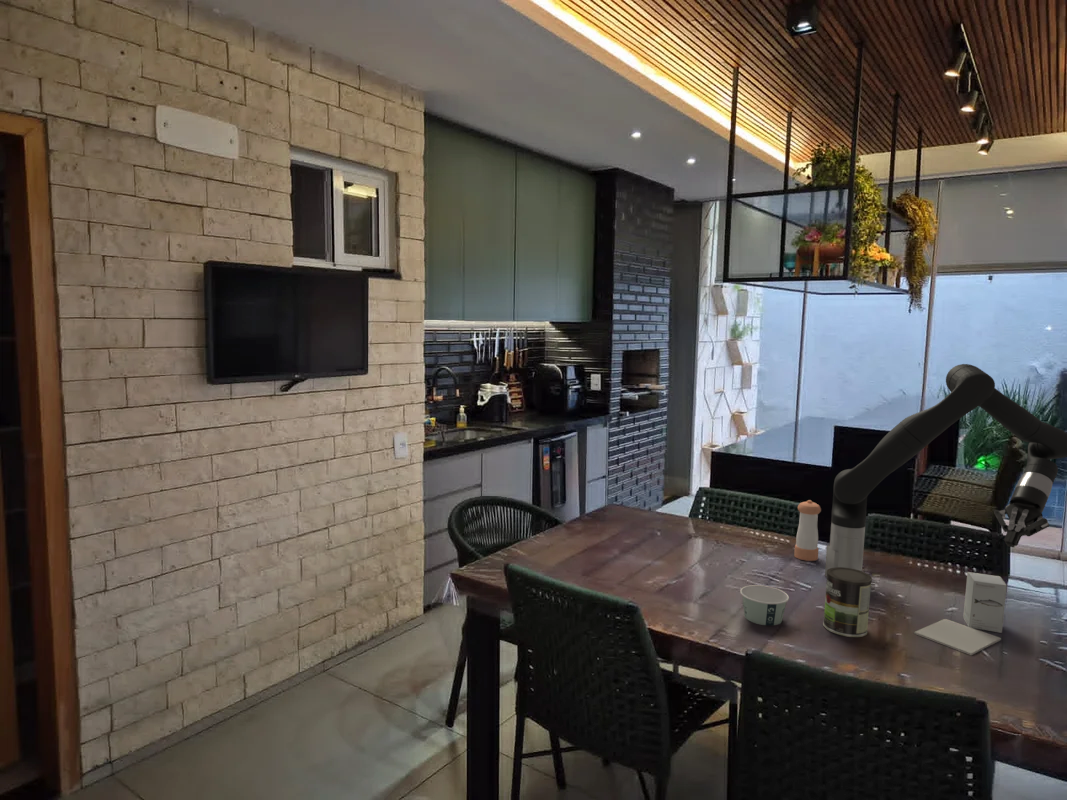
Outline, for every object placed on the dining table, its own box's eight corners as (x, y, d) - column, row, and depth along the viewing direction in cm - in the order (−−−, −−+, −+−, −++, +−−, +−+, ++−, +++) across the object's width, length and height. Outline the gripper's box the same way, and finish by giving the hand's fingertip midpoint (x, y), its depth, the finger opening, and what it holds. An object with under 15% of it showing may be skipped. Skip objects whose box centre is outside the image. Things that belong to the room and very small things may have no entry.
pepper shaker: (821, 561, 222) (825, 503, 220) (798, 560, 222) (802, 502, 220) (812, 553, 229) (816, 497, 227) (791, 553, 229) (794, 497, 227)
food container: (733, 607, 183) (734, 584, 183) (778, 609, 183) (780, 585, 182) (745, 627, 172) (747, 602, 171) (794, 628, 171) (796, 603, 170)
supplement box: (968, 628, 173) (972, 580, 172) (962, 617, 180) (966, 570, 179) (1002, 634, 170) (1007, 585, 169) (995, 622, 177) (1000, 575, 176)
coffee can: (836, 638, 166) (840, 582, 165) (815, 620, 177) (818, 567, 175) (876, 637, 167) (881, 581, 166) (853, 619, 177) (857, 566, 176)
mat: (971, 655, 159) (971, 653, 159) (914, 633, 170) (914, 631, 169) (1000, 640, 167) (1000, 638, 167) (944, 620, 178) (945, 618, 178)
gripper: (1064, 505, 182) (1042, 559, 177) (1008, 496, 193) (985, 547, 187) (1057, 489, 179) (1034, 543, 173) (1000, 480, 190) (977, 531, 184)
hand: (1009, 545), depth 180 cm, fingers closed
